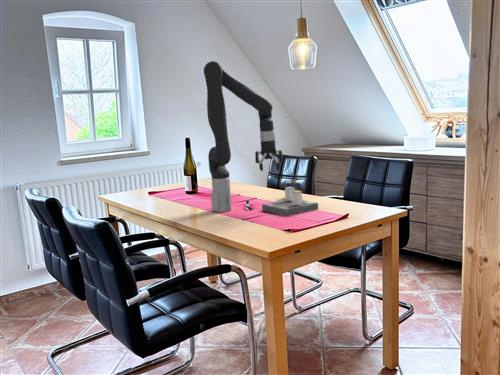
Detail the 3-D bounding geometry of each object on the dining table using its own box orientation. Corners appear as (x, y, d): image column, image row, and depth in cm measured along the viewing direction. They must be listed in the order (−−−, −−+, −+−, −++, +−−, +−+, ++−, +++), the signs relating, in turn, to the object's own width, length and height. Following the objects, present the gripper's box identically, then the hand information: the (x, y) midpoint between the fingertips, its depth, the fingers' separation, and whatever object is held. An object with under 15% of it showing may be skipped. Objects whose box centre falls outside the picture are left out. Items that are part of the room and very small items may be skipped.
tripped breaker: (297, 205, 239) (297, 192, 237) (292, 204, 242) (291, 191, 241) (302, 204, 240) (301, 191, 239) (296, 203, 243) (296, 190, 242)
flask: (284, 198, 277) (284, 179, 275) (286, 197, 280) (285, 178, 278) (299, 198, 273) (299, 180, 271) (301, 197, 276) (301, 179, 274)
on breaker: (290, 200, 250) (289, 188, 249) (285, 200, 253) (284, 187, 252) (294, 200, 252) (294, 187, 251) (289, 199, 255) (289, 186, 254)
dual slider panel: (287, 215, 232) (286, 209, 232) (262, 210, 247) (262, 204, 247) (318, 208, 245) (318, 202, 244) (292, 203, 260) (292, 198, 259)
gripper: (252, 141, 247) (255, 172, 250) (279, 139, 243) (282, 171, 246) (255, 139, 254) (258, 169, 257) (282, 137, 250) (284, 168, 253)
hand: (270, 170), depth 252 cm, fingers open, 8 cm apart
